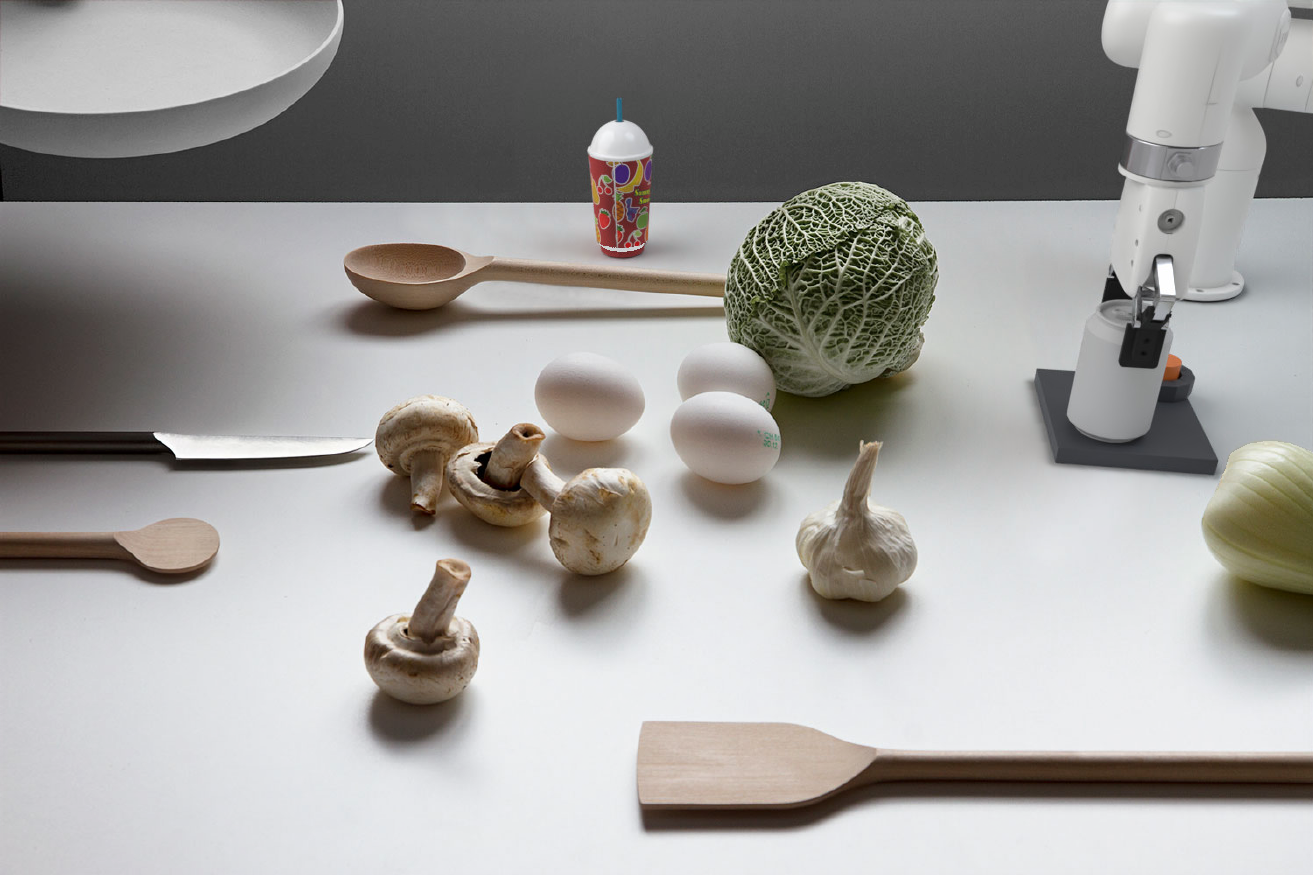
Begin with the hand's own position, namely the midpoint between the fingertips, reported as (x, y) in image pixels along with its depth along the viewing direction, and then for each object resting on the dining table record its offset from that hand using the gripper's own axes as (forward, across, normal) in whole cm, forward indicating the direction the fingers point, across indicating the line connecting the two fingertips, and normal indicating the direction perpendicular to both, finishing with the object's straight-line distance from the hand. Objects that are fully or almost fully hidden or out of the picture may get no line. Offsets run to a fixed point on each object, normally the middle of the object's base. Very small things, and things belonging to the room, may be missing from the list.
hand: (1126, 341), depth 103 cm
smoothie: (+11, +41, +55) cm, 69 cm away
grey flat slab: (+11, +3, -2) cm, 11 cm away
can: (+9, 0, 0) cm, 9 cm away
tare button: (+8, +9, -6) cm, 13 cm away
